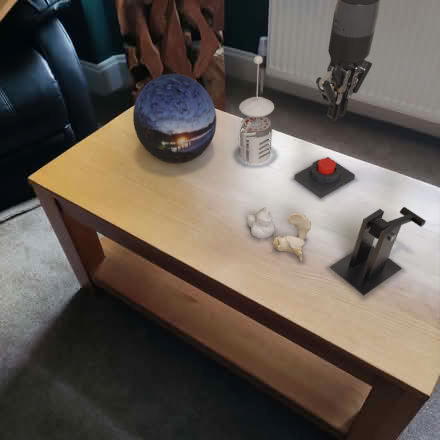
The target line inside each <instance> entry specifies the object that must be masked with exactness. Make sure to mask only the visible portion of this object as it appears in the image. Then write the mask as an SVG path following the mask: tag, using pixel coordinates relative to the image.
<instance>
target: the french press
mask: <svg viewBox="0 0 440 440" xmlns="http://www.w3.org/2000/svg"><path fill="white" fill-rule="evenodd" d="M253 63H254V64H257V71H256V72H257V73H256V74H257V75H256V77H257V79H256V96H252V97H249V98H246V99H245V100H243V101H242V102H241V103H240V104H239V105H238V106H239V111H240V112H241V114H242V115H245V116H246V117H244V118H243V119H242V120H241V121H240V122H241V124H240V126H239V129H238V134H237V143H238V146H239V156H240V158H241V160H242V161H243V162H246V163H248V164H250V165H251V164H252V165H259V164H263V163H265V162H267V161H268V160H269V159H270V158H271V154H272V153H271V152H272V151H271V150H272V137H273V126H272V121H271V119H270V118H269V117H267V116H268V115H270V114H271V113H272V112H273V111H274V109H275V104H274V103H273V101H271V100H269V99H268V98H265V97H263V96H259V95H258V94H259V72H260V71H259V69H260V68H259V67H260V66H259V65H260V64H262V63H263V57H262V56H261V55H256V56H254V58H253ZM243 129H244V130H243ZM254 133H255V134H254ZM247 134H248V135H247Z"/></svg>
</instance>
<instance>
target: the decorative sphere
mask: <svg viewBox="0 0 440 440" xmlns="http://www.w3.org/2000/svg"><path fill="white" fill-rule="evenodd" d="M133 106H134V107H133V115H132V116H133V118H132V120H133V128H134V131H135V134H136V136H137V139H138V141H139V142H140V144H141V145H142V147H143V148H144V149H145V150H146V151H147V152H148V153H149V154H150V155H152V156H153V158H154V157H155V158H156V159H158V160H160V161H162V162H166V163H170V164H182V163H187V162H191V161H193V160H195V159H196V158H198V157H200V156H201V155H202V154H203V153H204V152H205V151H206V150H207V149H208V147H209V146H210V145H211V143H212V141H213V139H214V136H215V133H216V128H217V111H216V108H215V103H214V101H213V99H212V97H211V96H210V94H209V92H208V91H207V90H206V88H205V87H204V86H203V85H202V84H201V83H199V82H198V81H197V80H195V79H193V78H192V77H190V76H187V75H184V74H179V73H168V74H162V75H160V76H157V77H155V78H153V79H151V80H150V81H149V82H148V83H146V84H145V86H144V87H143V88H142V89H141V90H140V92H139V93H138V95H137V97H136V100H135V103H134V105H133Z"/></svg>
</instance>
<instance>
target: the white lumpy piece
mask: <svg viewBox="0 0 440 440" xmlns="http://www.w3.org/2000/svg"><path fill="white" fill-rule="evenodd" d="M246 218H247V219H246V220H247V225H248V226H249V227H250V233H251V235H252V236H254V237H255V238H259V239H262V238H263V239H266V238H269V237H271V236H272V235H274V233H275V230H276V227H275V223H274V221H273V216H272V214H271V212H270V211H269V209H268V208H267V207H266V206H264V207H263V208H261V209H259V210H258V211H257V212H256V213H255V214H251V213H250V214H248V215H247V217H246Z"/></svg>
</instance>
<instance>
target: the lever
mask: <svg viewBox="0 0 440 440" xmlns="http://www.w3.org/2000/svg"><path fill="white" fill-rule="evenodd" d="M399 214H400V215H402V216H400V217H397V218H394V219H391V220H388V221H387V220H385V219H384V218H382V219H380V220H377V221H374V222H373V224H372V226H371V228H370V230H369V232H368V233H370V234H371V235H372V236H374V237H375V239H376V240H378V238H379V236H380V233H381V231H383V230H384V229H386V228H388V227H389V226H391V225H392V224H394V223H395V222H397V221H399V222H400V223H402V225H405V224H407V223H410V222H412V223H414V224H415V225H417V226H418V227H420V228H422V227H424V226H425V224H426V222H427V221H426V220H425V219H424V218H422V216H420V215H418V214H416V213H415V212H413V211H412V210H410V209H409V208H407V207H406V206H403V207H402V208H401V209H400V211H399ZM402 225H401V226H402Z"/></svg>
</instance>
